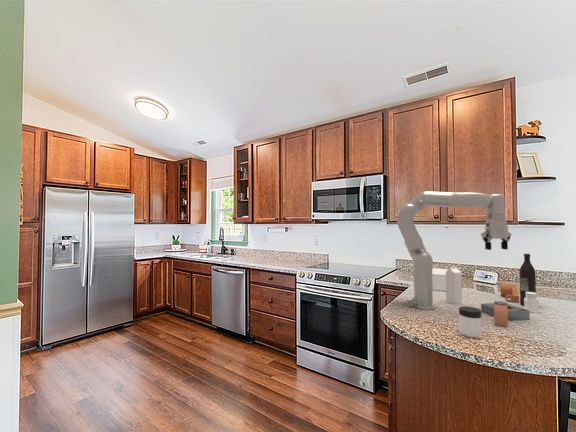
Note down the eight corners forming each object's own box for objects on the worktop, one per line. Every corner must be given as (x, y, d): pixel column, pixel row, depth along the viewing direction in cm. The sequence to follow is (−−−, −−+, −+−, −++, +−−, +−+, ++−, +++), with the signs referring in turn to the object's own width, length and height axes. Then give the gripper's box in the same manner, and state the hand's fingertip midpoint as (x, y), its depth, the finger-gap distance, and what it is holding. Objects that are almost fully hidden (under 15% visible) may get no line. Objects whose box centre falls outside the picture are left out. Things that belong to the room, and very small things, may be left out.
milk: (462, 303, 168) (461, 266, 168) (455, 304, 166) (454, 267, 166) (452, 301, 174) (452, 265, 174) (445, 302, 171) (445, 266, 171)
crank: (500, 293, 190) (500, 282, 190) (515, 295, 186) (515, 283, 186) (502, 300, 174) (502, 288, 174) (519, 303, 169) (518, 289, 169)
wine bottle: (519, 302, 169) (518, 252, 169) (535, 304, 165) (534, 253, 165) (520, 305, 163) (519, 254, 164) (537, 307, 159) (535, 254, 160)
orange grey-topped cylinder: (501, 327, 128) (500, 304, 129) (491, 323, 133) (491, 301, 133) (510, 327, 129) (510, 304, 129) (501, 323, 134) (500, 300, 134)
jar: (461, 331, 126) (460, 304, 126) (482, 336, 121) (482, 308, 121) (457, 337, 119) (457, 309, 119) (480, 343, 114) (480, 313, 114)
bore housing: (504, 322, 137) (504, 311, 137) (481, 312, 151) (481, 303, 151) (529, 320, 139) (529, 310, 139) (504, 311, 153) (504, 302, 153)
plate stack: (467, 287, 210) (466, 271, 210) (448, 292, 194) (447, 276, 194) (430, 280, 233) (430, 266, 233) (410, 285, 217) (410, 270, 217)
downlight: (540, 314, 148) (539, 295, 148) (522, 311, 153) (522, 293, 153) (539, 310, 154) (539, 292, 154) (523, 308, 159) (522, 290, 159)
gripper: (487, 217, 145) (487, 250, 144) (516, 217, 147) (517, 249, 147) (475, 217, 152) (476, 249, 152) (503, 217, 155) (504, 248, 154)
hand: (496, 249), depth 149 cm, fingers open, 9 cm apart
